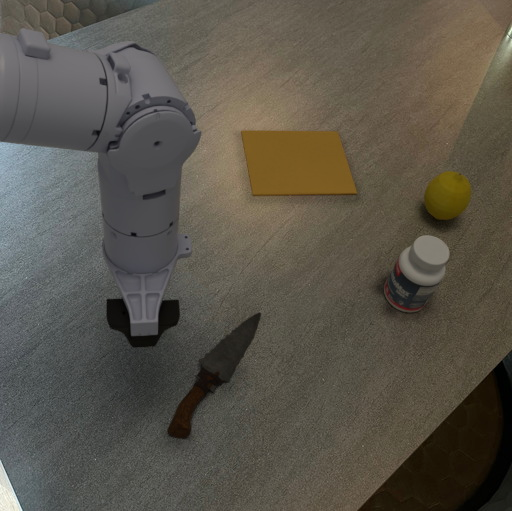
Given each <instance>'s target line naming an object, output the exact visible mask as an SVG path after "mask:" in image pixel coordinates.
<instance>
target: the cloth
mask: <svg viewBox="0 0 512 511" xmlns="http://www.w3.org/2000/svg"><path fill="white" fill-rule="evenodd" d="M240 134H241V138H242V143H243V144H242V145H243V150H244V156H245V160H246V165H247V166H246V167H247V172H248V177H249V182H250V188H251V193H252V196H253V197H254V196H255V197H258V196H259V197H261V196H263V197H265V196H268V197H269V196H332V195H333V196H342V195H343V196H345V195H346V196H349V195H350V196H352V195H353V196H354V195H358V191H357V187H356V184H355V181H354V178H353V175H352V171H351V169H350V164H349V162H348V158H347V156H346V152H345V150H344V147H343V143H342V140H341V136H340V133H339V131H338V130H336V131H335V130H241V132H240Z"/></svg>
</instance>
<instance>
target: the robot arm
mask: <svg viewBox="0 0 512 511" xmlns="http://www.w3.org/2000/svg"><path fill="white" fill-rule="evenodd" d="M188 102H189V101H187V99H186V98H185V96H184V94H183V92H182V90H181V89H180V88H179V86H178V85H177V83H176V81H175V79H174V78H173V76H172V74H171V73H170V71H169V70H168V68H167V66H166V64H165V63H164V62H163V61H162V60H161V59H160V57H159V56H158V55H157V54H156V53H155V52H154V51H153V50H151V49H150V48H148V47H146V46H143V45H140V44H139V43H138V42H136V41H134V40H126V41H119V42H115V43H113V44H110V45H106V47H103V48H100V49H91V48H86V50H83V49H78V48H74V47H69V46H65V45H61V44H56V43H50V42H48V40H47V38H46V36H45V34H44V33H43V32H41V31H38V30H33V29H30V28H24V27H22V28H20V29H19V31H18V33H17V35H14V34H11V33H10V34H9V33H4V32H0V143H6V144H15V145H22V146H23V145H24V146H31V147H32V146H33V147H35V146H36V147H41V148H42V147H43V148H52V149H61V150H70V151H79V152H87V153H88V152H89V153H96V154H97V175H98V186H99V187H98V188H99V198H100V211H101V220H102V221H101V222H102V232H103V238H102V243H101V248H102V249H101V252H102V256H103V260H104V262H105V264H106V267H107V270H108V271H109V273H110V275H111V277H112V279H113V281H114V283H115V286H116V288H117V289H118V292H119V294H120V296H121V297H120V298H107V299H106V321H107V324H108V327H109V328H110V329H111V330H113V331H116V332H120V333H121V334H123V335H124V337H125V338H126V340H127V342H128V343H129V345H130V347H132V348H133V349H136V348H137V349H138V348H154V347H156V346H157V344H158V342H159V341H160V339H161V337H162V336H163V334H164V332H165V331H168V330H169V329H171V328H174V327H177V325H178V323H179V321H180V318H181V312H180V310H181V309H180V300H179V299H164V297H165V295H166V292H167V290H168V287H169V284H170V283H171V282H170V281H171V279H172V276H173V273H174V271H175V268H176V265H177V263H178V261H179V260H180V259H188V258H190V257H192V254H193V242H192V237H191V235H190V234H189V233H180V232H179V226H180V224H179V223H180V210H181V209H180V206H181V191H182V177H183V176H182V174H183V166H184V164H185V163H186V161H187V160H188V159H189V158H190V157H191V155H193V153H194V152H195V150H196V149H197V148H198V145H199V143H200V141H201V137H202V132H203V131H202V130H200V129H198V126H197V122H196V121H197V120H196V116H195V113H194V111H193V109H192V108H191V106H190V104H189V103H188Z"/></svg>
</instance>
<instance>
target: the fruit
mask: <svg viewBox="0 0 512 511" xmlns="http://www.w3.org/2000/svg"><path fill="white" fill-rule="evenodd" d="M424 190H425V191H424V193H423V194H424V195H423V202H424V207H425V209H426V210H427V213H429V214H430V215H431V216H432V217H433V218H435V219H436V220H439V221H441V220H443V221H449V220H451V219H455V218H457V217H459V216H460V215H462V213H464V212H465V211H466V210H467V208H468V207H469V204H470V201H471V197H472V186H471V183H470V181H469V179H468V178H467V177H466V176H465V175H463V174H462V173H460V172H457V171H454V170H447V171H442V172H441V173H439V174H438V175H437V176H435V177H433V178H432V179H431V180H430V181H429V182H428V184H427V186H426V188H425V189H424Z"/></svg>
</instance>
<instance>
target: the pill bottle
mask: <svg viewBox="0 0 512 511" xmlns="http://www.w3.org/2000/svg"><path fill="white" fill-rule="evenodd" d="M450 253H451V252H450V248H449V247H448V245H447V243H445V241H443V240H442V239H441V238H439V237H436V236H434V235H431V234H429V235H428V234H425V235H421V236H419V237H417V238H416V239H415V240H414V242H413V243H412V245H410V246H408V247H406V248H404V249H403V250H402V251H401V253H400V255H399V256H398V258H397V259H396V261H395V264H394V265H393V267H392V269H391V271H390V273H389V275H388V277H387V279H386V280H385V282H384V285H383V293H384V297H385V299H386V301H387V302H388V303H389V305H391V306H392V307H393V308H394V309H396V310H398V311H400V312H403V313H416V312H419V311H421V310H423V309H424V308H425V307H426V305H427V304H428V302H429V301H430V299H431V298H432V296H433V295H434V293H435V292H436V290H437V289H438V287H439V285H440V284H441V282H442V281H443V280H444V277H445V275H446V264H447V262H448V261H449V259H450V256H451V255H450Z"/></svg>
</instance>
